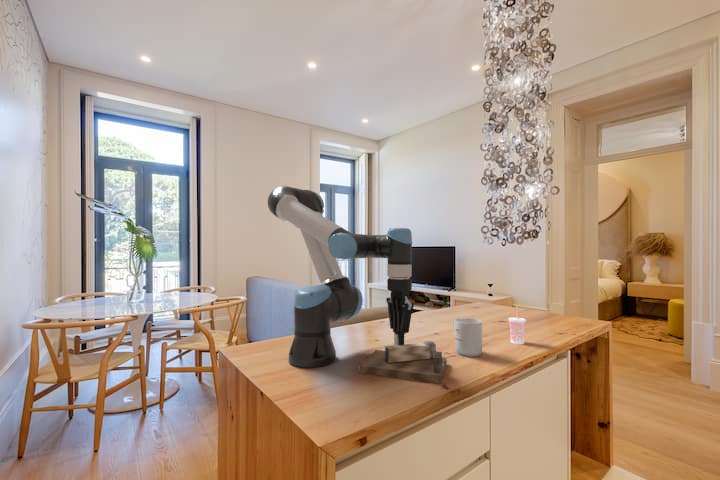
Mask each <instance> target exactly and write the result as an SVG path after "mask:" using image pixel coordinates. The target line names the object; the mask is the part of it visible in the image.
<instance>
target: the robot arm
mask: <svg viewBox="0 0 720 480" xmlns="http://www.w3.org/2000/svg"><path fill="white" fill-rule="evenodd" d="M267 208H268V210H269V211H270V212H271V214H272V215H274V217H276V218H278V219H279V220H281V221H284V222H285V221H288V222H289V223H291V224H292V225H294V226H295V228H297V229H300V231H301V235H302V238H303V240H304V243H305V246H306V248H307V251H308V254H309V256H310V260H311V262H312V265H313V266H314V269H315V272H316V275H317V277H318V280H319V283H320V284H315V285H308V286H304V287H301V288H299V289H297V291H295V294H294V302H293V306H294V307H293V308H294V310H293V311H294V316H293V317H294V318H293V319H294V321H293V322H294V327H293V329H294V330H293V331H294V333H293V334H294V336H293V339H292V341H291V342H292V343H291V346H290V349H289V350H288V351H289V352H288V363H289V364H290V365H292V366H295V367H297V368H298V367H299V368H311V369H312V368H320V367H326V366H329V365H331V364H333V363H334V362H335V361H336V359H337V351H336V349H335V344H334V342H333V338H332V336H331V325H332V323H337V322H341V321H344V320H345V321H346V320H350V319H351V318H354V317H356V316H357V315H359V313H360V312H361V310H362V306H363V300H364V299H363V294H362V291H361V290H360V289H359V287H357V286H356V285H353V284H352V283H351V281H350V280H349V277H348V276H345V275H343V272H342V270H341V268H340V265H339V262H338V259H339V260H349V259H351V260H352V259H387V260H386V261H387V264H386V265H387V266H386V268H387V271H386V272H387V273H386V274H387V284H386V285H387V290H388V291H390V294H389V295H390V296H389V297H386V304H387V309H388V310H387V311H388V319H389V320H388V321H389V328H390V329H391V330H392V332H393V333H394V334H393V335H394V336H393V338H394V339H393V340H394V341H393V345H404V344H405V334H409V332H410V326H411V318H412V314H413V309H414V307H415V304H414V302H410V296H409V292H411V291H412V288H413V287H412V285H413V283H412V282H413V281H412V278H411V277H412V275H413V274H412V270H413V269H412V260H413V259H412V257H413V256H412V255H413V254H412V253H413V250H412V249H413V237H412V235H413V234H412V229H410V228H407V227H406V228H405V227H393V228H388V230H387V232H386V233H387V234H364V233H363V234H361V233H360V234H359V233H352V232H350V231H348V230H347V229H345V228H343V227H342V226H341V225H339V224H337V223H335V222H333V221H332V220H330V219H328V218H326V216H324V215H323V214H324V211H325V210H324V208H325V203H324V199H323V198H322V196H321V195H320V194H319V193H318V192H315V191H312V190H311V189H310V190H309V189H301V188H297V187H292V186H286V185H285V186H278V187H275V188H274V189H273V190H271V192H270V193H269V195H268V197H267Z"/></svg>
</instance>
